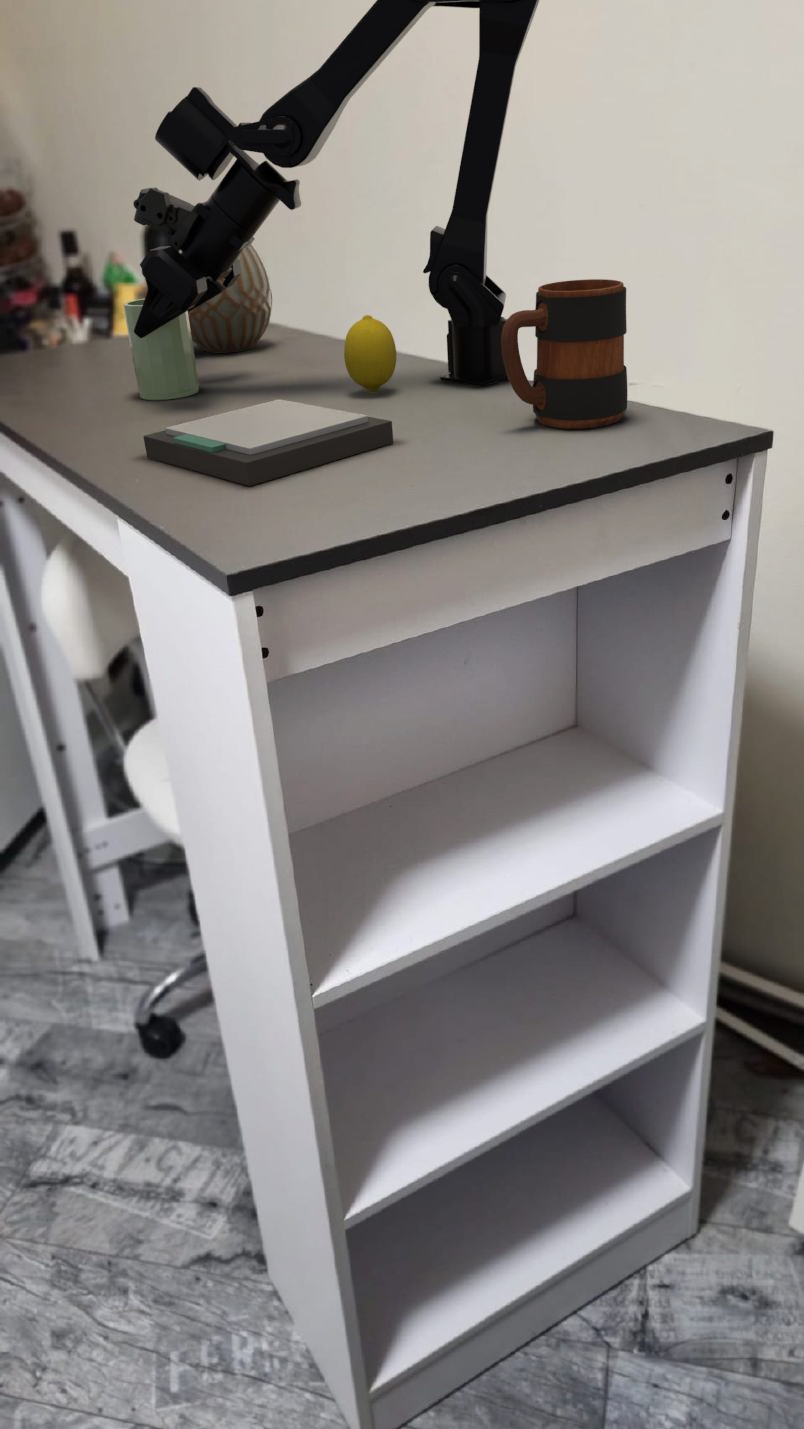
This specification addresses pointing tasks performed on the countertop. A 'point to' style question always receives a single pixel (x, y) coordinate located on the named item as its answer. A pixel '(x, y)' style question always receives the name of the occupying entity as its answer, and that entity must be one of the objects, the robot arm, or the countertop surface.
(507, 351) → the mug
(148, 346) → the cup
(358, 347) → the lemon
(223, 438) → the scale
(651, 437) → the countertop surface
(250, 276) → the vase
